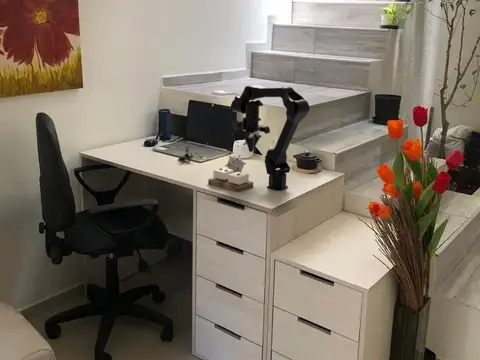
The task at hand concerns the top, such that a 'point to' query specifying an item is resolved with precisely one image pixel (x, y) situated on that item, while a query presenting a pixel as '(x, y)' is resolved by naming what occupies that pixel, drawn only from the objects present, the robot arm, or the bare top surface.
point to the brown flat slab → (229, 184)
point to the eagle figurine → (187, 155)
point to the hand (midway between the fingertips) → (250, 151)
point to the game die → (235, 164)
